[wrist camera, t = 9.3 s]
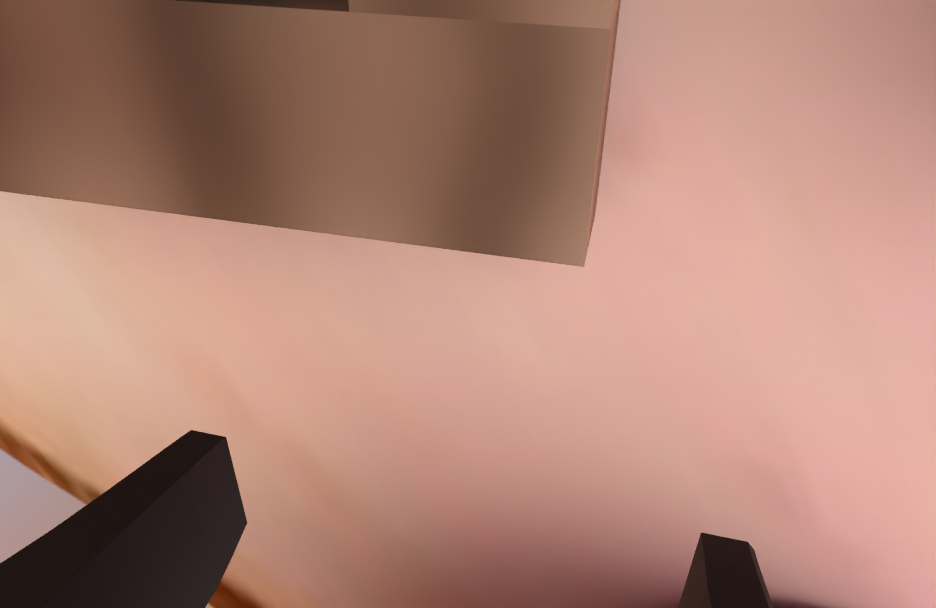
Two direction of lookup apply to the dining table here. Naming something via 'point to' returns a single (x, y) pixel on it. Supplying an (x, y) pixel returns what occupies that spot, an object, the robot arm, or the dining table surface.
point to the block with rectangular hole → (319, 114)
